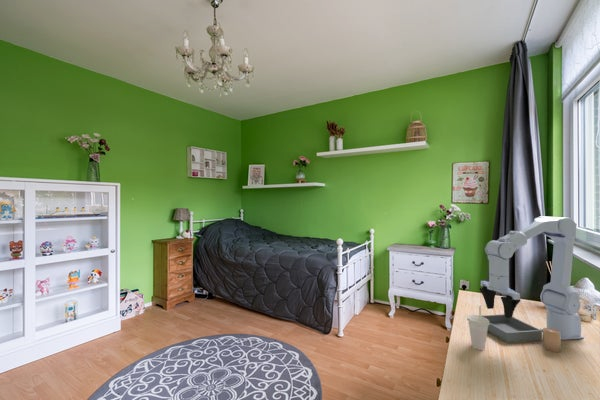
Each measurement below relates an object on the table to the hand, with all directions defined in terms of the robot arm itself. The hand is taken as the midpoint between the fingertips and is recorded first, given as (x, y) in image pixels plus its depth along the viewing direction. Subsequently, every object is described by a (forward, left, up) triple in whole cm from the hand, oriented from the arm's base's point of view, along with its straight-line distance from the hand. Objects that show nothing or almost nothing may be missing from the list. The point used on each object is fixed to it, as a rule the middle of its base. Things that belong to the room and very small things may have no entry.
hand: (498, 312), depth 97 cm
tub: (-8, -5, -10) cm, 14 cm away
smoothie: (+11, +3, -10) cm, 15 cm away
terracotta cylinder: (-13, +7, -10) cm, 18 cm away
